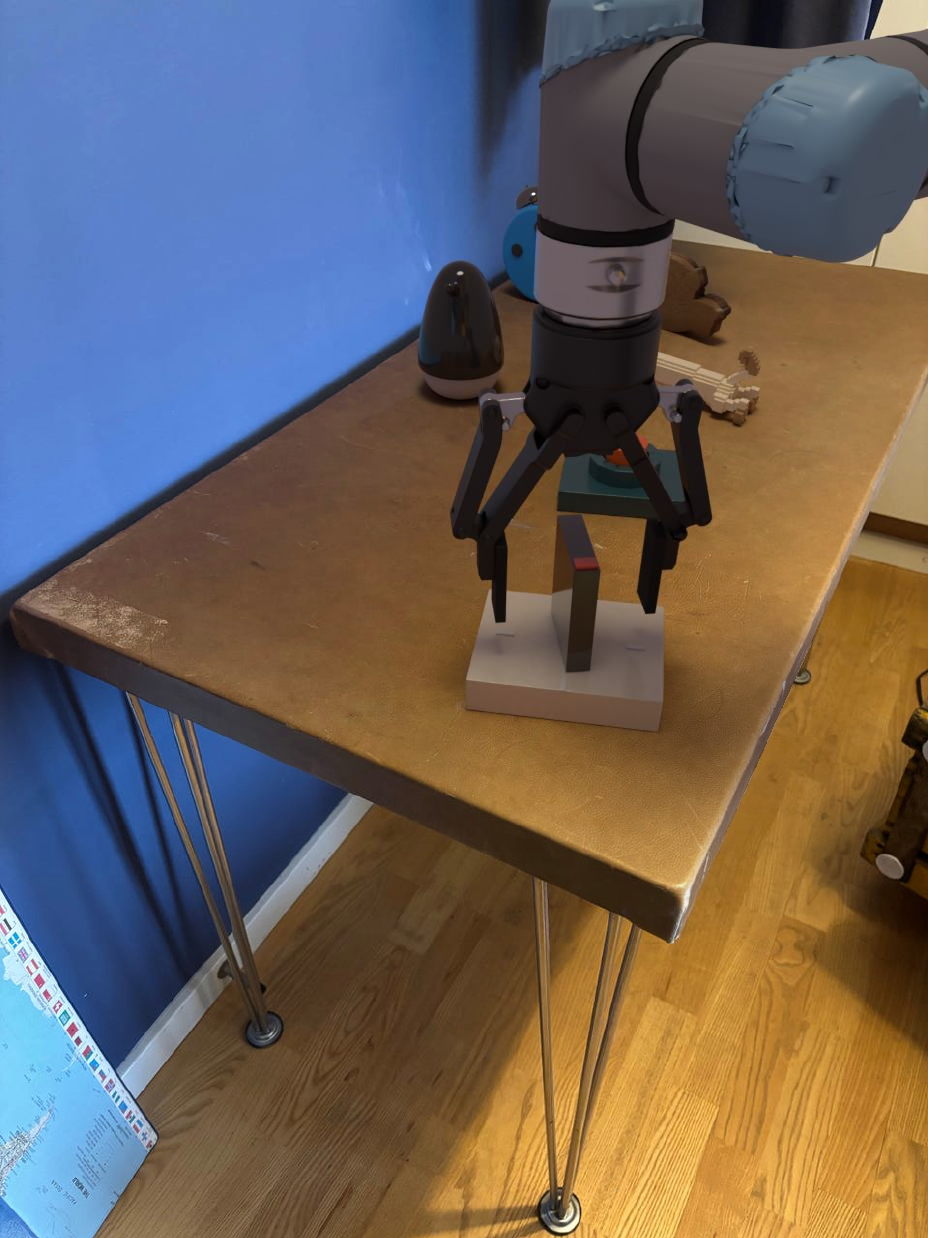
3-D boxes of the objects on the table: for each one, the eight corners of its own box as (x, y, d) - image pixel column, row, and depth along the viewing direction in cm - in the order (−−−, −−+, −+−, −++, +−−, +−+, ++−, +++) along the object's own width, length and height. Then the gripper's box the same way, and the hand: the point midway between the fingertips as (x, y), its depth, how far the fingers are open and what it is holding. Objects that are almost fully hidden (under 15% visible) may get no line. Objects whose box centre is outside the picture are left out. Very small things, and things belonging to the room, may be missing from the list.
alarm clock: (597, 301, 133) (606, 191, 123) (574, 314, 129) (582, 201, 119) (522, 283, 139) (526, 177, 129) (499, 295, 135) (501, 186, 126)
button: (646, 449, 90) (648, 433, 89) (645, 469, 87) (647, 453, 86) (605, 446, 91) (607, 430, 90) (603, 466, 88) (605, 449, 87)
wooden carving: (733, 339, 121) (747, 263, 115) (714, 349, 119) (727, 271, 112) (634, 308, 130) (641, 236, 124) (614, 317, 128) (621, 243, 122)
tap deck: (659, 634, 74) (664, 603, 72) (657, 733, 65) (663, 701, 63) (488, 616, 76) (489, 586, 74) (465, 710, 67) (465, 678, 65)
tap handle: (550, 612, 71) (557, 512, 65) (573, 611, 71) (581, 510, 66) (565, 672, 66) (574, 568, 60) (590, 671, 66) (601, 567, 60)
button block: (681, 469, 94) (687, 434, 92) (682, 521, 87) (688, 485, 84) (566, 460, 96) (568, 426, 94) (557, 510, 89) (559, 474, 86)
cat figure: (758, 410, 108) (571, 349, 117) (780, 339, 102) (581, 282, 111) (729, 444, 101) (534, 377, 110) (750, 371, 95) (542, 307, 105)
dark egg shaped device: (408, 405, 107) (401, 273, 97) (431, 369, 115) (427, 244, 105) (493, 414, 105) (494, 280, 95) (511, 376, 113) (514, 250, 103)
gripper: (403, 337, 49) (419, 649, 63) (814, 321, 50) (741, 630, 64) (399, 289, 55) (414, 584, 69) (768, 276, 56) (710, 568, 70)
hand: (572, 606), depth 67 cm, fingers open, 10 cm apart
